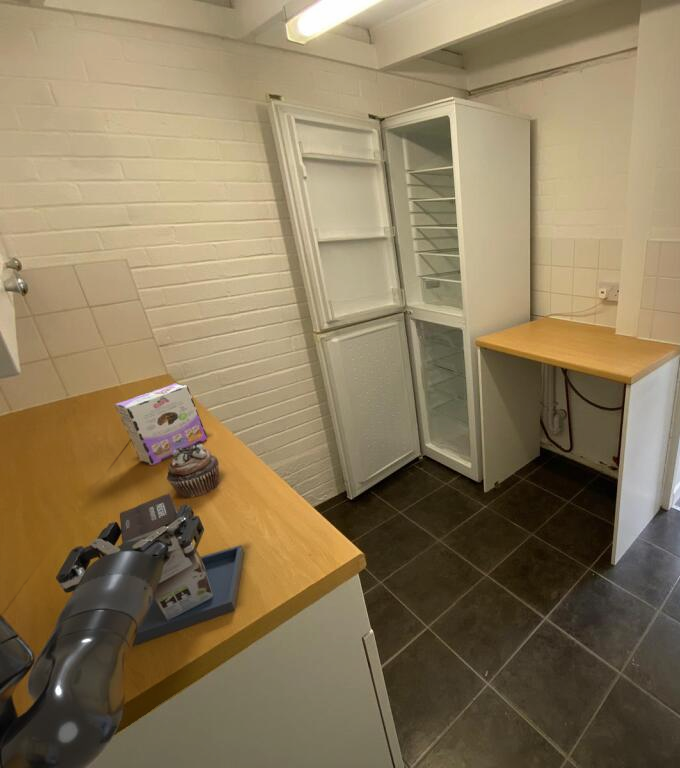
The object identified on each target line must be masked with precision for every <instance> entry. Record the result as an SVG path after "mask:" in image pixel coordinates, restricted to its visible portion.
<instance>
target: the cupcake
mask: <svg viewBox="0 0 680 768" xmlns="http://www.w3.org/2000/svg"><path fill="white" fill-rule="evenodd" d="M219 465H220V463H219V460H218V458H217V457H216V455H212V453H211V451H210V450H208V449H206V448H205V447H204V445H203V444H201V443H195V444H192V445H189V446H187V447H184V448H177V449H176V450H175V451H173V456H172V459H171V460H170V463H169V464H168V467H167V469H168V472H167V475H166V481H167V482H168V483H169V485H170V486H171V487H172V488H173V489H174V490H175V492H176V493H177V494H178V495H179V497H180V498H182V499H183V498H184V499H191V498H192V499H193V498H197V497H200V496H201V497H202V496H203V495H206V494H207V493H209V492H211V490H212V491H214V489H216V488H217V487H218V486H217V485H220V483H221V477H220V469H219V467H220V466H219Z"/></svg>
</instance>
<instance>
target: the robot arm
mask: <svg viewBox="0 0 680 768" xmlns="http://www.w3.org/2000/svg"><path fill="white" fill-rule="evenodd" d="M177 511H178V513H177V515H176V518H175V521H174V522H172V523H171V524H170V525H168V526H167V527H164V526H162V527H160V528H159V529H158V530H156V531H155V532H154V533H152V534H151V535H149V536H147V537H143V538H141V539H138V540H135V541H129V542H125V543H123V542H122V543H120V545H117V546H116V544H117V542H118V540H119V539H120V537H121V536H122V533H121V526H120V525H119V524H118V521H113V522H108V525H107V526H106V527H104V528H103V529H101V532H100V533H99V535H98V536H97V538H96V539H94V540H93V541H91V542H90V543H89V545H88V546H85V547H84V546H82V545H79V546H76V547H74V548H73V549H72V550H70V552H69V553H68V555H67V557H66V559H65V560H64V562H63V563H62V566H61V567H60V569H59V571H58V573H57V575H56V576H55V579H56V581H57V582H58V584H59V585H60V587H61V588H62V590H63V592H64V593H66V594H68V593H69V594H70V593H71V595H70V597H69V598H68V599H67V602H66V603H65V605H64V607H63V609H62V610H61V611H60V614H59V615H58V618H57V620H56V622H55V625H54V629H53V630H52V633H50V636H49V637H48V639H47V641H46V643H45V644H44V646H43V648H42V650H41V651H40V652H39V654H38V657H37V658H36V657H35V654H34V651H33V650H32V648H31V647H30V645H29V644H28V643H27V641H26V640H25V639H24V638H23V637H22V636H20V634H19V632H18V631H16V629H15V628H14V627H13V626H12V625H11V624H10V623H9V622H8V621H7V620H6V618H5V617H4V616H3V615H2V614H1V613H0V768H90V766H92V765H93V763H95V762H96V760H97V759H98V758H100V756H101V755H102V754H103V753H104V751H105V750H106V749H107V747H108V746H109V744H110V743H111V742H112V739H113V738H114V736H115V734H116V732H117V731H118V728H119V726H120V724H121V720H122V718H123V714H124V709H125V695H126V694H125V691H126V690H125V689H126V662H127V660H128V658H129V655H130V652H131V649H132V647H133V646H132V645H133V642H134V639H135V637H136V634H137V632H138V631H139V629H140V627H141V626H142V624H143V622H144V620H145V618H146V615H147V613H148V610H149V608H150V605H151V603H152V600H153V597H154V594H155V592H156V589H157V586H158V584H159V581H160V578H161V575H162V570H163V565H164V564H165V563H166V562H167V561H168V560H169V559H170V557H171V556H175V555H179V554H184V556H185V557H186V558H188V557H191V556H193V555H194V554H195V552H196V550H197V551H198V547H199V545H200V542H201V540H202V537H203V534H204V532H205V528H204V525H203V522H202V520H201V518H200V516H199V515H195V513H194V511H193V508H192V506H191V505H188V503H183V504H181V505H180V506H179V508H178V510H177ZM177 528H178V529H179V532H178V533H176V534H175V535H174V530H176V529H177ZM161 537H163V539H164V541H165V543H163V542H162V541H160V540H159V538H161ZM95 558H97V559H96V560H95V561H93V562H92V560H93V559H95ZM91 562H92V563H91ZM90 563H91V564H90ZM35 658H36V660H35ZM30 670H31V671H30ZM29 671H30V673H29ZM28 673H29V675H28V678H27V684H26V686H27V687H26V689H27V692H28V693H27V694H28V695H29V696H30V698H31V699H32V700H33V701H34V702H33V703H32V705H30V707H29V708H28V709H27V710H26V711H25V712H23V713H22V714H21V715H20V716H19V714H18V711H17V708H16V705H15V701H14V692H15V690H16V688H17V687H18V685H19V684H20V683H21V682H22V680H23V679H24V678H25V677H26V676H27V674H28Z"/></svg>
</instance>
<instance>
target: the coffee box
mask: <svg viewBox="0 0 680 768" xmlns="http://www.w3.org/2000/svg"><path fill="white" fill-rule="evenodd" d="M178 511H179V510H178V509H177V507H176V505H175V503H174V501H173V499H172V497H171V494H170V493H167V494H164V495H161V496H159V497H156V498H153V499H151V500H148V501H146V502H143V503H141V504H139V505H137V506H135V507H132V508H130V509H127V510H124V511H121V512H120V513H119V520H120V521H119V522H120V529H121V542H122V543H125V542H129V541H135V540H138V539H141V538H143V537H147V536H149V535H151V534H152V533H154V532H155V531H156V530H158V529H159V528H160V527H162V526H164V527H167V526H168V525H170V524H171V523H172V522H174V521H175V518H176V515H177V513H178ZM178 532H179V529H178V528H177V529H176V530H174V535H175V534H176V533H178ZM159 540H160V541H162V542H163V543H165V541H164V539H163V537H161V538H159ZM200 557H201V556H200V553H199V552H198V549H197V550H196V552H195V554H194V555H193V556H191V557H188V558H186V557H185V556H184V554H179V555H175V556H171V557H170V559H169V560H168V561H167V562H166V563H165V564H164V565H163V570H162V575H161V578H160V581H159V584H158V586H157V589H156V592H155V594H154V599H155V600H156V602H157V604H158V606H159V607H160V609H161V611H162V613H163V614H164V616H165V618H166V620H167V621H168V620H171V619H172V618H174V617H176V616H178V615H180V614H182V613H184V612H186V611H188V610H190V609H191V608H193V607H195V606H197V605H199V604H201V603H203V602H205V601H207V600H209V599H211V598H212V597H213V593H212V590H211V586H210V583H209V580H208V576H207V573H206V570H205V566H204V564H203V562H202V560H201V558H200Z"/></svg>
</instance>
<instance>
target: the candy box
mask: <svg viewBox="0 0 680 768" xmlns="http://www.w3.org/2000/svg"><path fill="white" fill-rule="evenodd" d="M114 406H115V408H116V410H117V412H118V415H119V417H120V419H121V421H122V423H123V426H124V428H125V430H126V432H127V435H128V436H129V439H130V441H131V443H132V445H133V447H134V448H133V449H134V450H135V453H136V454H137V456H138V459H139V460H140V461H141V462H143V463H145V464H148V465H149V466H155V465H157V464H160V463H161V462H163V461H165V460H167V459H169V458H171V457H174V456H173V451H175V450H176V449H177V448H184V447H187V446H189V445H192V444H195V443H200V444H201V443H203V442H205V441H206V440H208V439H209V437H208V434H207V433H206V430H205V427H204V425H203V422H202V420H201V417H200V415H199V412H198V409H197V407H196V404H195V402H194V398H193V397H192V394H191V391H190V389H189V386H188V385H185V384H179V383H176V382H175V383H172V384H169V385H166V386H164V387H161V388H158V389H156V390H152V391H149V392H147V393H144V394H141V395H138V396H135V397H132V398H129V399H127V400H124V401H120V402H118V403H115V404H114Z"/></svg>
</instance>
